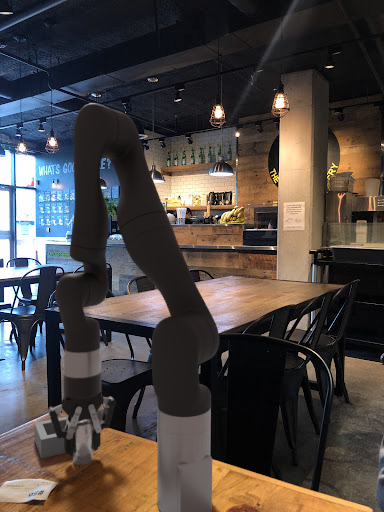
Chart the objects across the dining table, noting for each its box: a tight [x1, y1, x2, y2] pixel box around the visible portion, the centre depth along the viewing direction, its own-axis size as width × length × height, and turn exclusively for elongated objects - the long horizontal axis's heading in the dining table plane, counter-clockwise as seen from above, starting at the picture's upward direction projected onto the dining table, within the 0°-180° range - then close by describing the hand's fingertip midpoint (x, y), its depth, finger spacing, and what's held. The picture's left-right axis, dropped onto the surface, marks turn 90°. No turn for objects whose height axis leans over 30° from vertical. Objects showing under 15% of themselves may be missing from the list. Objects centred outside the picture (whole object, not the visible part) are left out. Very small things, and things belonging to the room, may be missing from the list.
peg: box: [72, 419, 94, 466], centre depth 87 cm, size 4×4×8 cm
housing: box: [33, 415, 73, 460], centre depth 94 cm, size 9×9×4 cm
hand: (82, 451), depth 87 cm, fingers open, 4 cm apart
